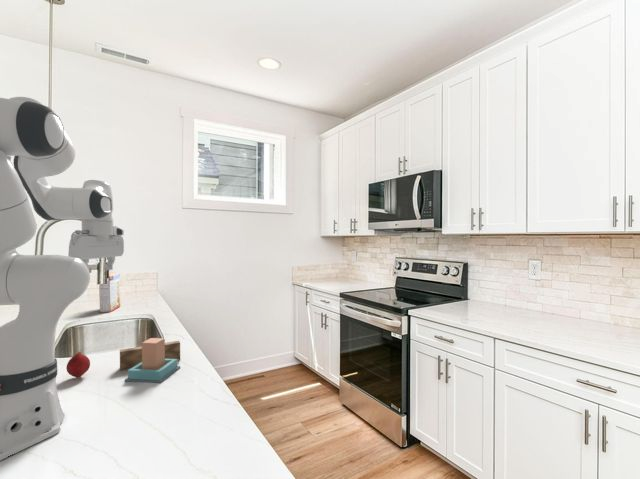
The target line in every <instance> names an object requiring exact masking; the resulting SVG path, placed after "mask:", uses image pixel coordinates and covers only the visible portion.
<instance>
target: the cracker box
mask: <svg viewBox="0 0 640 479" xmlns="http://www.w3.org/2000/svg"><path fill="white" fill-rule="evenodd" d="M108 273H109V278H108V281H107V284H100V285H99V284H98V285H99V287H98V290H99V293H98V294H99V313H111V312H113V311H115V310H117V309H118V308H120V307H121V278H120V274H121V273H120V272H118V271H117V272H108Z"/></svg>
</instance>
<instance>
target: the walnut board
mask: <svg viewBox="0 0 640 479" xmlns="http://www.w3.org/2000/svg"><path fill="white" fill-rule="evenodd" d="M165 359H177V361H180V360H181V341H180V340H175V341H168V342H165ZM141 362H142V345H141V346H135V347H129V348H123V349H119V372H120V371H127V370H129V369H131V368H132V367H134V366H136V365H137V364H139V363H141Z"/></svg>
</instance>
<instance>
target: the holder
mask: <svg viewBox="0 0 640 479" xmlns="http://www.w3.org/2000/svg"><path fill="white" fill-rule="evenodd" d="M179 369H181V365H178V360H177V359H165V365H164V366H163V367H162V368H160V369H159V370H149V369H142V362H141V363H139V364H137V365H136V366H134V367H132V368H131V369H127V377H126V378H125V379H124V382H126V383H127V382H129V383H133V382H134V383H148V384H149V383H153V384H162V383H163V382H164V381H165V380H167V379H168V378H169V377H171V375H173V374H174V373H175V372H177V371H178V370H179Z"/></svg>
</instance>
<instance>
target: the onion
mask: <svg viewBox="0 0 640 479" xmlns="http://www.w3.org/2000/svg"><path fill="white" fill-rule="evenodd" d="M90 366H91V361H90V359H89V357H88V356H86V355H85V354H83V352H82V351H80V350H79V351H77V352H76V353H75V354H74V355H73V356H72V357H71V358H70V359H69V360H68V361H67V364H66V372H67V374H68V375H70V376H71V377H74V378H77V379H79V378H82V376H83V375H85V374H86V373H87V372H88V371H89V369H90Z"/></svg>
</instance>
